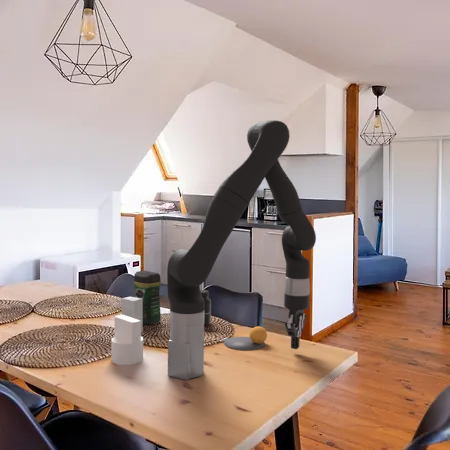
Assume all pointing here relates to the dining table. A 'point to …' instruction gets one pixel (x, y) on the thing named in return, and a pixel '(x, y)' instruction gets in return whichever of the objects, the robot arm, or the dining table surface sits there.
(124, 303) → the skincare box
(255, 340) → the ball
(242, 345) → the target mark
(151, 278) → the coffee jar
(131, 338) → the cylinder with rectangular tab
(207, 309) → the supplement bottle
